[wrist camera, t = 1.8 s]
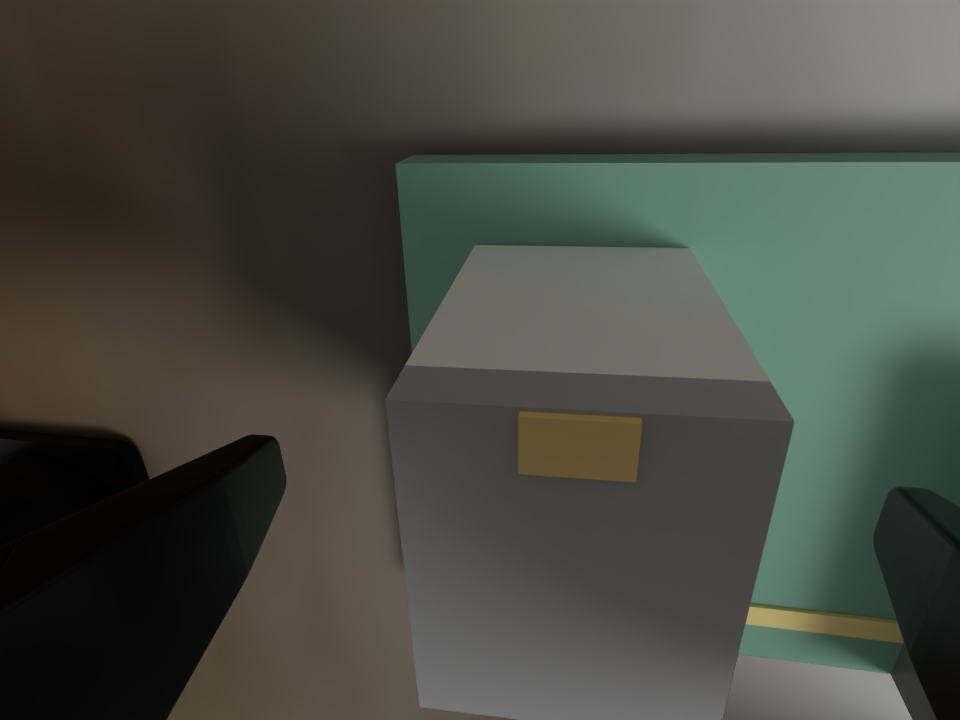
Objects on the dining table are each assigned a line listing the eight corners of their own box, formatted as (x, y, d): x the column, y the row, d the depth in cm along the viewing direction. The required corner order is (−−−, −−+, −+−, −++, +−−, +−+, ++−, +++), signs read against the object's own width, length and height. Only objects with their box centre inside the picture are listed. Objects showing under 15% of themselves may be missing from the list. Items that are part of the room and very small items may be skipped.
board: (444, 581, 18) (433, 617, 16) (413, 154, 12) (393, 164, 11) (1261, 679, 14) (1320, 733, 13) (1709, 148, 9) (1873, 161, 8)
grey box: (481, 457, 14) (417, 714, 8) (475, 244, 11) (382, 405, 6) (661, 469, 13) (718, 754, 8) (690, 247, 11) (798, 428, 5)
